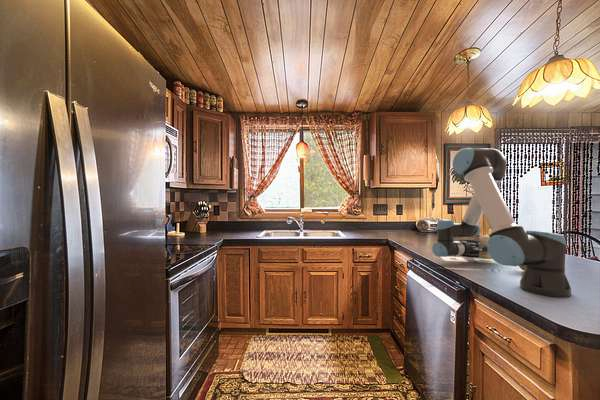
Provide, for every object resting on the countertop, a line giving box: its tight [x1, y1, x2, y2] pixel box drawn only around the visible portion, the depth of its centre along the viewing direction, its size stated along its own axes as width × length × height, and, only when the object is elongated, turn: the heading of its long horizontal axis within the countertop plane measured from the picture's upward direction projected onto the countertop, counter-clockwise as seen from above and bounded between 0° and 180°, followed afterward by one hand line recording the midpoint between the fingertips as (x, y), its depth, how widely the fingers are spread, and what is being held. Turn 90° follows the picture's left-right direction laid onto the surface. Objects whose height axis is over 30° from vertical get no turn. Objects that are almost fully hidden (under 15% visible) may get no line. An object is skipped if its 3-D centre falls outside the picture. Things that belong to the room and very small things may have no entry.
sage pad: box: [472, 257, 498, 264], centre depth 155 cm, size 10×10×1 cm
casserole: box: [455, 239, 480, 257], centre depth 176 cm, size 25×19×8 cm
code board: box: [440, 256, 469, 263], centre depth 160 cm, size 12×12×1 cm
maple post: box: [478, 235, 492, 259], centre depth 155 cm, size 6×6×12 cm
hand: (492, 245), depth 156 cm, fingers closed on maple post, 6 cm apart
